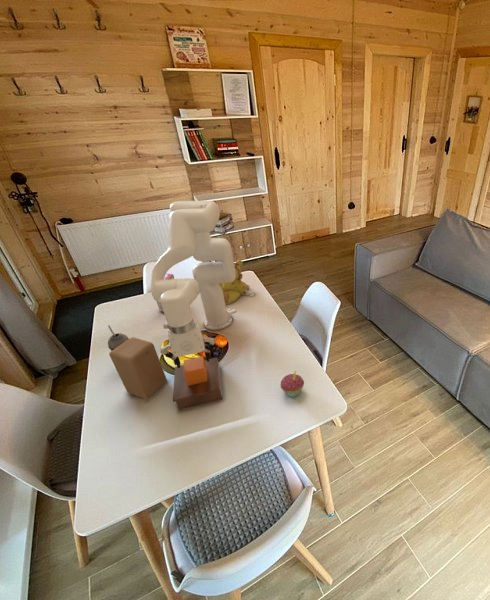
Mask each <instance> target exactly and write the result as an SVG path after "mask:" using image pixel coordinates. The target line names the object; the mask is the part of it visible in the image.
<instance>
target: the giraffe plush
mask: <svg viewBox="0 0 490 600" xmlns="http://www.w3.org/2000/svg"><path fill="white" fill-rule="evenodd" d="M243 265H244V264H243V261H242V260H241V259H237V260H236V262H234V266H235V272H236V277H235V280H234V281H233V282H230V283H218V284H219V285H220V287H221V288H222V291H223V296H224V300H225V305H229V304H232V303H234V302H236V301H237V300H238V299H239V298H240V297H241V295H243V296H249V297H254V295H255V293H249V292H245V291H246V290H249V288H250V285H249V284H247V283H246V282H245V281H243V280H242V279H243V273H242V268H241V267H242V266H243Z"/></svg>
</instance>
